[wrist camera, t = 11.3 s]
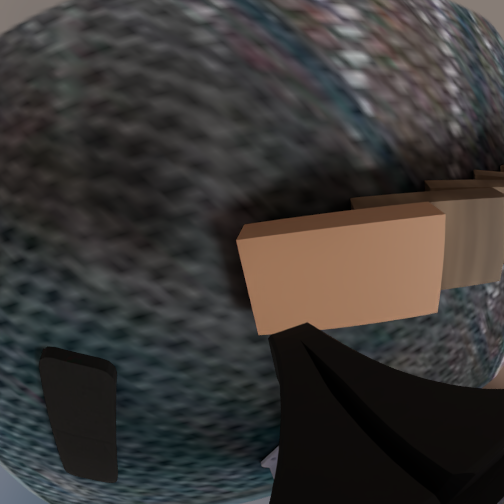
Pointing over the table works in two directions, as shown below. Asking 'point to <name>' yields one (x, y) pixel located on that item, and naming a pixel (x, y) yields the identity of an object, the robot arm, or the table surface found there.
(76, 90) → the table surface
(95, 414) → the remote control
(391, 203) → the domino
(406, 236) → the domino
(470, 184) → the domino
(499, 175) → the domino
